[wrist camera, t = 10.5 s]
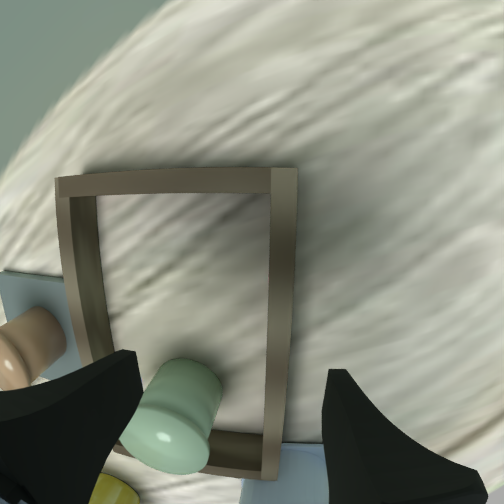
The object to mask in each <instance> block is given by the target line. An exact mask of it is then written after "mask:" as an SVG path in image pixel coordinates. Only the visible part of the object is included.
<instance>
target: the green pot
mask: <svg viewBox="0 0 504 504" xmlns="http://www.w3.org/2000/svg"><path fill="white" fill-rule="evenodd" d="M222 393H223V391H222V386H221V383H220V381H219V379H218V378H217V376H216V375H215V374H214V373H213V372H212V371H211V370H210V369H209V368H208V367H206V366H204V365H203V364H201V363H199V362H196V361H193V360H189V359H173V360H170V361H168V362H166V363H164V364H163V365H162V366H161V367H160V369H159V370H158V372H157V373H156V375H155V376H154V378H153V379H152V381H151V382H150V384H149V385H148V387H147V388H146V390H145V391H144V393H143V396H142V398H141V400H140V403H139V405H138V407H137V410H136V412H135V414H134V415H133V417H132V419H131V420H130V422H129V423H128V425H127V427H126V428H125V430H124V431H123V433H122V435H121V436H120V438H119V440H120V442H121V443H122V445H123V446H124V447H125V448H126V450H127V451H128V452H129V453H130V454H131V455H133V456H134V457H135V458H136V459H138V460H139V461H141V462H142V463H144V464H146V465H147V466H149V467H151V468H154V469H156V470H159V471H162V472H166V473H170V474H177V475H186V474H192V473H196V472H198V471H200V470H201V469H203V468H204V467H205V465H206V464H207V461H208V458H209V455H210V445H209V442H208V437H209V434H210V431H211V429H212V426H213V423H214V420H215V417H216V414H217V411H218V408H219V404H220V401H221V398H222Z"/></svg>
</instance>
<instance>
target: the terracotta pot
mask: <svg viewBox="0 0 504 504" xmlns="http://www.w3.org/2000/svg"><path fill="white" fill-rule="evenodd" d="M66 347H67V343H66V337H65V334H64V331H63V329H62V327H61V325H60V324H59V322H58V321H57V319H56V318H55V317H54V316H53V315H52V314H51V313H50V312H49V311H48V310H46V309H45V308H43V307H40V306H34V307H32V308H30V309H28V310H27V311H25V312H23V313H22V314H20V315H18V316H17V317H15V318H13V319H12V320H10V321H9V322H7V323H5V324H4V325H2V326H1V327H0V388H1V389H2V390H3V391H7V390H15V389H20V388H25V387H29V386H31V383H32V382H33V381H34V380H35V379H37V378H38V377H39V376H40V375H41V374H42V373H43V372H44V371H45V370H47V369H48V368H49V367H50V366H51V365H52V364H53V363H55V362H56V361H57V360H58V359H59V358H60V357H61V356H63V355H64V353H65V351H66Z"/></svg>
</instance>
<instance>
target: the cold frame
mask: <svg viewBox="0 0 504 504" xmlns="http://www.w3.org/2000/svg"><path fill="white" fill-rule="evenodd" d="M297 186H298V168H280V167H199V168H169V169H149V170H132V171H118V172H105V173H94V174H83V175H73V176H64V177H58V178H55V200H56V216H57V228H58V239H59V248H60V256H61V264H62V271H63V278H64V284H65V290H66V296H67V302H68V307H69V312H70V317H71V322H72V327H73V331H74V335H75V340H76V344H77V348H78V352H79V356H80V360H81V364H82V367H85V366H87V365H89V364H91V363H93V362H95V361H97V360H99V359H101V358H103V357H105V356H108V355H110V354H112V353H114V347H113V342H112V337H111V331H110V326H109V320H108V314H107V307H106V301H105V294H104V287H103V279H102V271H101V262H100V252H99V242H98V229H97V214H96V196H100V195H123V194H156V193H266V194H271V210H270V258H269V296H268V328H267V357H266V383H265V407H264V429H263V435H257V434H246V433H236V432H227V431H219V430H211V431H210V434H209V437H208V442H209V445H210V455H209V458H208V461H207V464H206V465H205V467H204V468H203V469H201V470H200V471H198V472H199V473H205V474H212V475H218V476H226V477H234V478H242V479H252V480H264V481H277V479H278V470H279V461H280V452H281V443H282V433H283V423H284V413H285V402H286V391H287V379H288V366H289V353H290V339H291V324H292V308H293V291H294V271H295V249H296V222H297ZM113 451H114V452H116V453H119V454H122V455H126V456H129V457H133V458H135V457H134V456H133V455H131V454H130V453H129V452H128V451H127V450H126V448H125V447H124V446H123V445H122V443H121V442H120V440H119V439H118V441H117V442H116V444H115V446H114V447H113Z"/></svg>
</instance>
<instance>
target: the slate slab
mask: <svg viewBox="0 0 504 504" xmlns="http://www.w3.org/2000/svg"><path fill="white" fill-rule="evenodd" d="M0 294H1V298H2V303H3V307H4V311H5V315H6V319H7V322H9V321H10V320H12V319H13V318H15V317H17V316H18V315H20V314H22V313H23V312H25V311H27V310H28V309H30V308H32V307H34V306H40V307H43V308H45V309H46V310H48V311H49V312H50V313H51V314H52V315H53V316H54V317H55V318H56V319H57V321H58V322H59V324H60V325H61V327H62V329H63V331H64V334H65V337H66V343H67V347H66V351H65V353H64V355H63V356H61V357H60V358H59V359H58V360H57V361H56V362H55V363H53V364H52V365H51V366H50V367H49V368H48V369H47V370H45V371H44V372H43V373H42V374H41V375H40V377H43V378H46V379H49V380H54V379H57V378H59V377H62V376H64V375H66V374H69V373H71V372H74V371H76V370H78V369H80V368H83V367H82V364H81V360H80V356H79V352H78V348H77V344H76V340H75V335H74V331H73V327H72V322H71V317H70V312H69V307H68V302H67V296H66V290H65V284H64V278H58V277H49V276H41V275H33V274H25V273H17V272H9V271H2V272H0Z"/></svg>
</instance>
